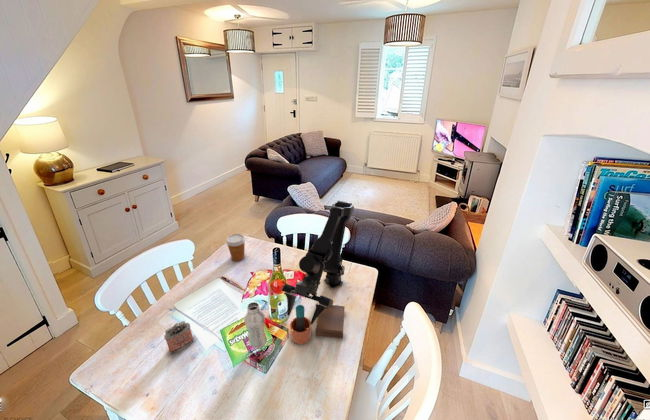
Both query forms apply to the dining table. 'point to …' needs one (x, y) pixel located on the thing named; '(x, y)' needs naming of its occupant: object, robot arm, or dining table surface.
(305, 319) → the pen cup
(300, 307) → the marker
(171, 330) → the broken red brick
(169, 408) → the dining table surface
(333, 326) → the shelf
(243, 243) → the disposable coffee cup
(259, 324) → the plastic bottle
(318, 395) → the dining table surface
